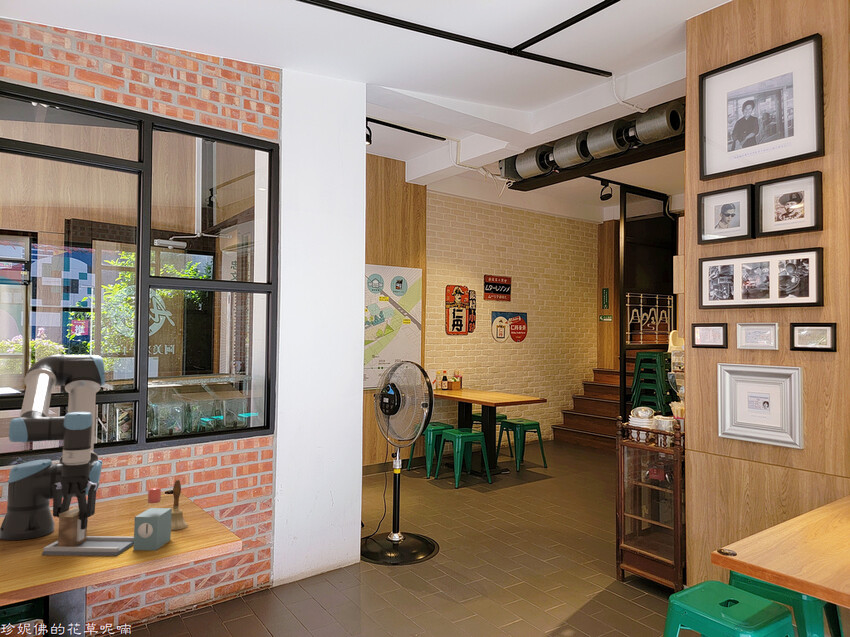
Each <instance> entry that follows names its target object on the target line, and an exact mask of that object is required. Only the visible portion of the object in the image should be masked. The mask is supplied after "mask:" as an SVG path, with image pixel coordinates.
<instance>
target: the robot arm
mask: <svg viewBox="0 0 850 637" xmlns="http://www.w3.org/2000/svg"><path fill="white" fill-rule="evenodd" d="M105 372H106V371H105V364H104V359H103V357H102V356H101V355H96V354H89V353H88V354H52V355H48V356H46V357H43V358H41V359H39V360H38V361H36V362H35V363H33V364H32V365H31V366H30V367H29V368H28V370H27V371H26V373H25V376H24V385H25V392H24V396H23V397H24V398H23V400H22V401H23V402H22V404H21V405H22V407H21V409H20V410H21V411H20V415H19V417H15V418H12V419H11V420H10V421H9V424H8V425H9V426H8V439H9V441H10V442H11V443H24V444H25V443H33V442H45V441H46V442H47V441H48V442H49V441H62V442H63V443H62V444H63V446H62V455H61V456H60V457H59V461H58V462H57V463H53V461H52V459H49V458H46V459H45V458H43V459H36V460H29V461H26V462H22V463H19V464H16V465H13V466H12V467H11V469H9V473H8V474H9V475H8V480H7V484H8V486H7V487H8V490H7V503H6V504H7V505H6V513H5V515H4V518H3V520H2V523H1V525H0V540H4V541H21V540H29V539H34V538H39V537H44V536H46V535H49V534H51V533H53V532H54V531H55V521H54V518H58V519H59V514H61V513H63V512H65V511H68V510H70V507H71V502H72V499H73V498H77V499H76V500H77V505H78V506H77V507H79V513H80V518H79V519H78V521H77V541H81V540H82V539H84V531H85V529H86V528H87V529H88V522H89V521H88V519H89V518H90V517H92V516H94V515H95V514H96V512H95V511H96V500H97V492H98V489H99V486H100V479H101V474H102V468H103V460H100V459H99V455H98V454H97V453H96V452H94V446H95V422H96V396H97V395H96V394H97V393H98V392H99V391H100V390H101V388H102V387H101V386H104V385H105V384H106V373H105ZM56 386H59V387H64V390H65V392H67V393H68V405H67V413H66V414H65V415H63V416H49V411H50V403H51V397H52V391H53V388H54V387H56ZM51 500H52V511H51V508H50V501H51Z"/></svg>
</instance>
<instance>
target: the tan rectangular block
mask: <svg viewBox="0 0 850 637" xmlns="http://www.w3.org/2000/svg"><path fill="white" fill-rule="evenodd" d="M79 518H80V513H79V506H74V507H72V508H69V510H68V511H65V512H63V513H61V514H59V518H58V534H57V535H58V537H57V540H58V547H75V546H77V545H78V544H80V543H82V542H84V541H86V540H87V536H88V535H87V534H88V527H87V528H86V529H85V531H84V539H82V540H81V541H77V521H78V519H79Z"/></svg>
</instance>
